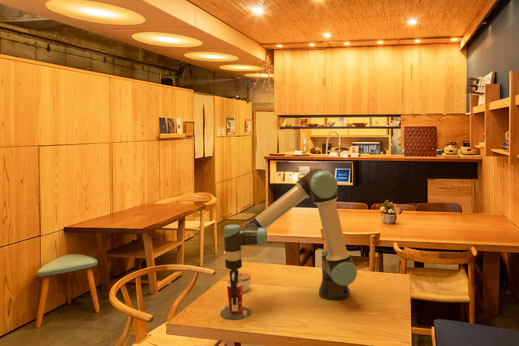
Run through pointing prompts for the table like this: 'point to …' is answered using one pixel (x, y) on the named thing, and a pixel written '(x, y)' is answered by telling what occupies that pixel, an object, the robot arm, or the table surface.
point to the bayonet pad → (233, 316)
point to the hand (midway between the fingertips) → (235, 307)
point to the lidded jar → (245, 281)
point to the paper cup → (239, 295)
